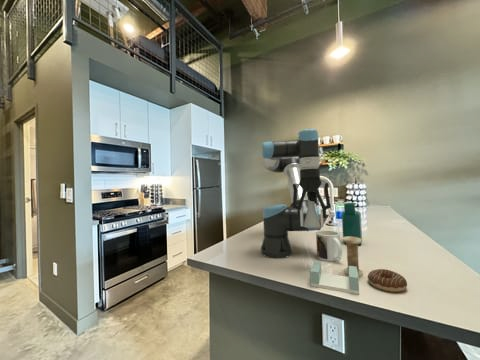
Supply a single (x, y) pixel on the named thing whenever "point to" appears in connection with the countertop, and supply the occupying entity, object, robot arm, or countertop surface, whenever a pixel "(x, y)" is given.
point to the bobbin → (352, 253)
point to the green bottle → (351, 222)
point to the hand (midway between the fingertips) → (312, 225)
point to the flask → (311, 217)
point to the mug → (328, 245)
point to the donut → (387, 280)
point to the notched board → (335, 280)
